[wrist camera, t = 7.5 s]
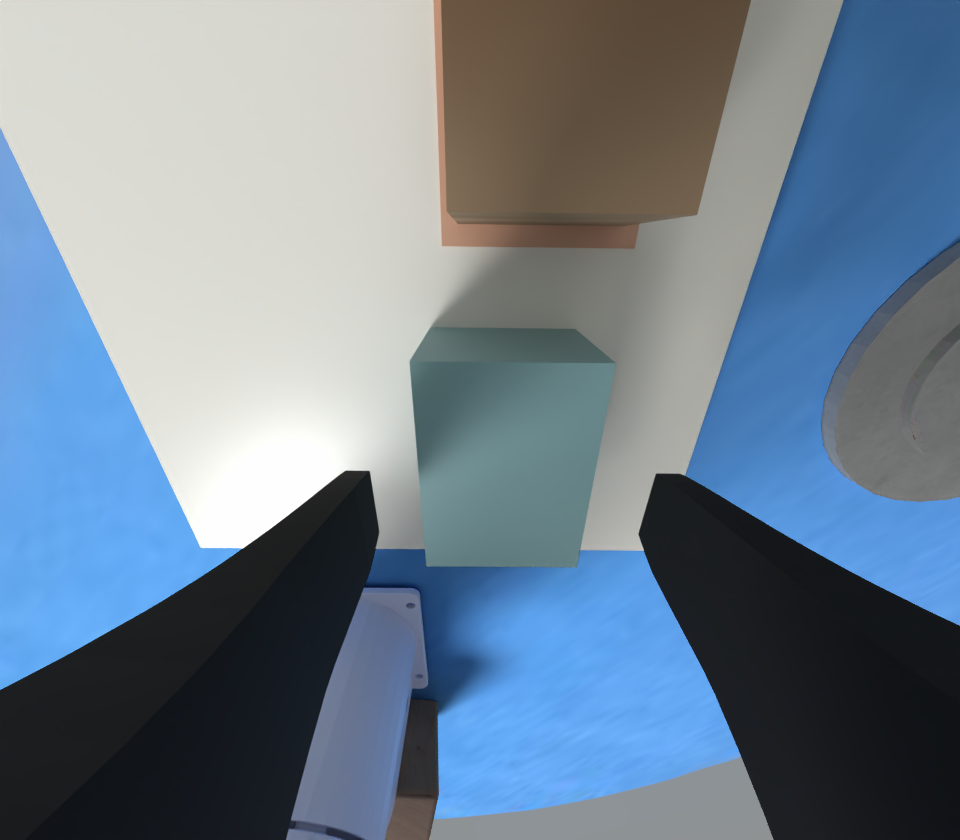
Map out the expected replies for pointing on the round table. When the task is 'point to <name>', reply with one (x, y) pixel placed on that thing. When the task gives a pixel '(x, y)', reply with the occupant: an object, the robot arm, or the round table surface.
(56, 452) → the round table surface
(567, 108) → the walnut block
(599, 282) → the baseplate
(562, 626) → the round table surface
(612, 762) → the round table surface
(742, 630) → the robot arm
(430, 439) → the teal block
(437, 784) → the wooden block set
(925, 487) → the mate gourd
